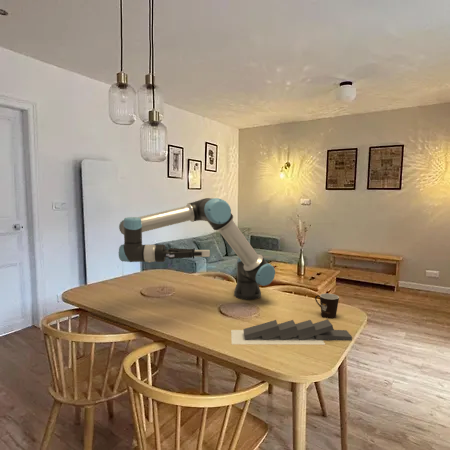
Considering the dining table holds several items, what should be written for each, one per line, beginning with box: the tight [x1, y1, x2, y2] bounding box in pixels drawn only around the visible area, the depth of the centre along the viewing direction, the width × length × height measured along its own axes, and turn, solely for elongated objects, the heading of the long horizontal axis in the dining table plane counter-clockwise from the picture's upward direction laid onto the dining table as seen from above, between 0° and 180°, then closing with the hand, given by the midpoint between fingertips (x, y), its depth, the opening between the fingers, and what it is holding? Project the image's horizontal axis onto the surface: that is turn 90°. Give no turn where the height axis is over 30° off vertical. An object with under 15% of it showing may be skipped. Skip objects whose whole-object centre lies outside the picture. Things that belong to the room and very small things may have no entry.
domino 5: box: [314, 329, 353, 341], centre depth 131 cm, size 2×6×14 cm
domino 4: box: [298, 318, 335, 340], centre depth 131 cm, size 2×6×14 cm
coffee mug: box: [314, 293, 340, 320], centre depth 155 cm, size 12×9×10 cm
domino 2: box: [262, 319, 298, 340], centre depth 131 cm, size 2×6×14 cm
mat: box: [230, 329, 326, 346], centre depth 131 cm, size 13×36×1 cm, turn 90°
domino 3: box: [280, 319, 315, 340], centre depth 131 cm, size 2×6×14 cm
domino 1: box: [242, 319, 280, 340], centre depth 131 cm, size 2×6×14 cm
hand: (209, 253), depth 142 cm, fingers closed
